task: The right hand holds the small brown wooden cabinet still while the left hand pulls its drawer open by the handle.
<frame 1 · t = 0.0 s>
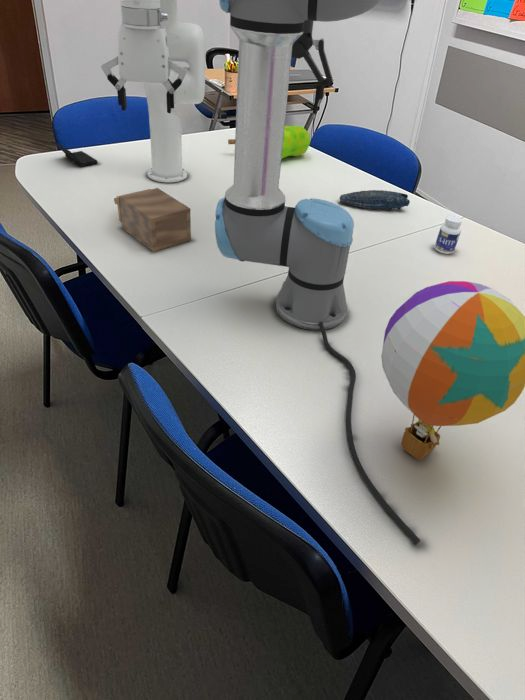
left hand: (146, 110, 113), 31 cm above the table, tool pointing down, fingers open, 9 cm apart
right hand: (288, 109, 135), 28 cm above the table, tool pointing down, fingers open, 13 cm apart
pill bottle: (443, 250, 140), on the table
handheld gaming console: (77, 161, 171), on the table
toy: (415, 451, 84), on the table
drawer: (143, 210, 136), point 4 cm above the table, slide at 1.5 cm
fish model: (372, 206, 160), on the table
decorative tree: (268, 156, 189), on the table
cabinet: (156, 234, 135), on the table
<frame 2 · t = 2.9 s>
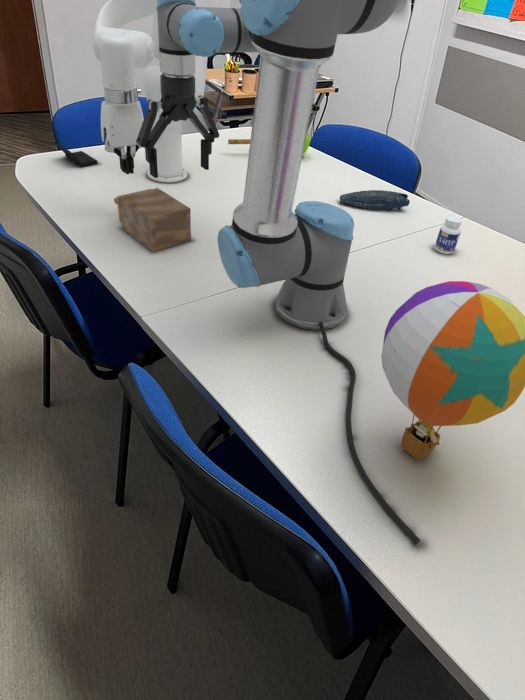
left hand: (127, 172, 134), 12 cm above the table, tool pointing down, fingers closed
right hand: (179, 171, 125), 17 cm above the table, tool pointing down, fingers open, 13 cm apart
nothing on the table moved.
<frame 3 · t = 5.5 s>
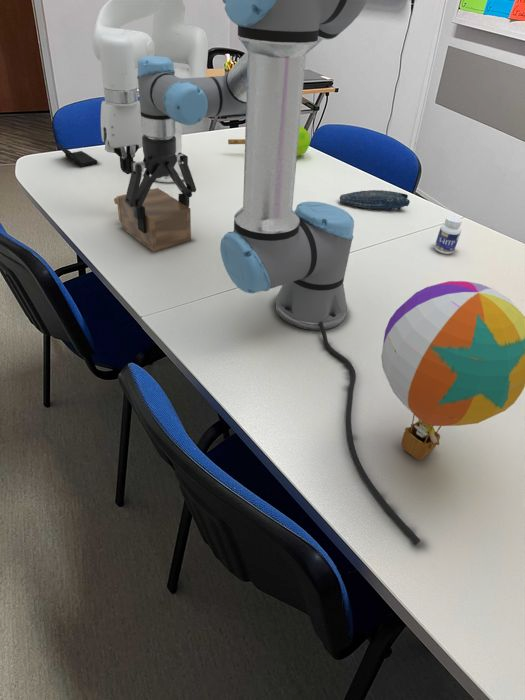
left hand: (127, 172, 134), 12 cm above the table, tool pointing down, fingers closed
right hand: (163, 225, 130), 4 cm above the table, tool pointing down, fingers closed on cabinet, 11 cm apart
cabinet: (156, 234, 135), on the table, touching right hand
everything else where it was.
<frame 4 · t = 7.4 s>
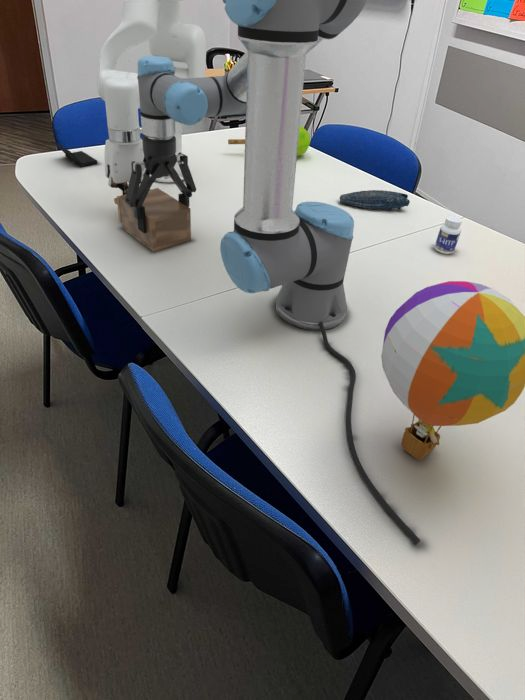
left hand: (130, 205, 140), 3 cm above the table, tool pointing down, fingers closed
right hand: (163, 225, 130), 4 cm above the table, tool pointing down, fingers closed on cabinet, 11 cm apart
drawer: (143, 210, 136), point 4 cm above the table, slide at 1.5 cm, touching left hand
cabinet: (156, 234, 135), on the table, touching right hand
everything else where it was.
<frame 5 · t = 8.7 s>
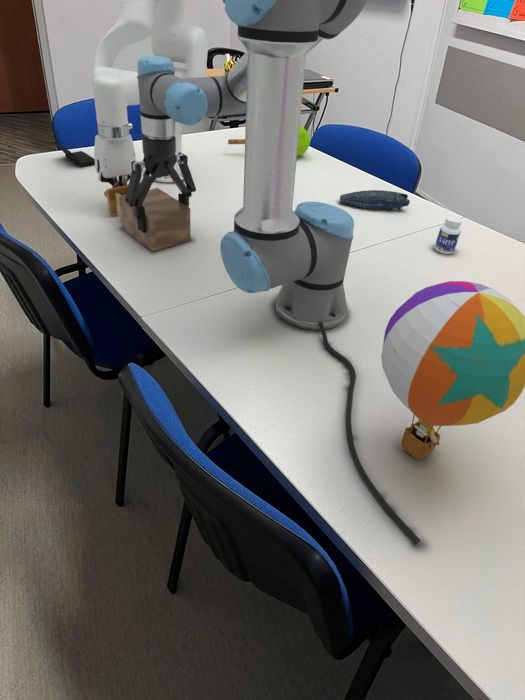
left hand: (119, 199, 143), 3 cm above the table, tool pointing down, fingers closed
right hand: (163, 225, 130), 4 cm above the table, tool pointing down, fingers closed on cabinet, 11 cm apart
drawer: (132, 203, 139), point 4 cm above the table, slide at 6.9 cm, touching left hand
cabinet: (156, 234, 135), on the table, touching right hand
everything else where it was.
when the right hand's fingers open (4 cm above the table, at t = 10.5 s): cabinet stays where it is, on the table.
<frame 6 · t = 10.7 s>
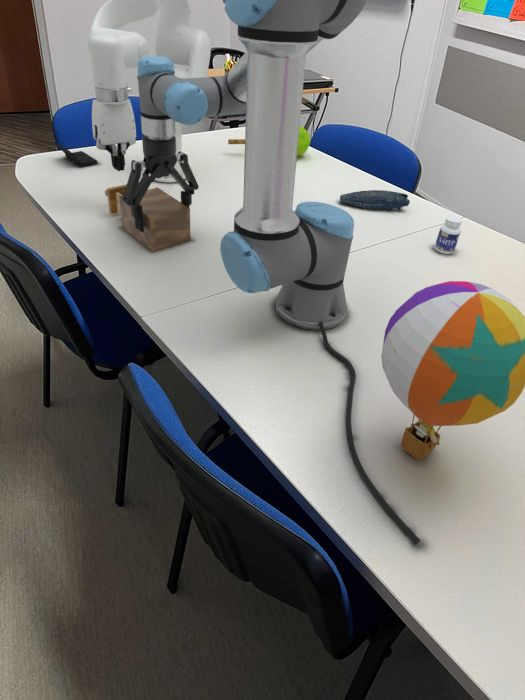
left hand: (118, 169, 137), 12 cm above the table, tool pointing down, fingers closed
right hand: (163, 223, 130), 5 cm above the table, tool pointing down, fingers open, 13 cm apart
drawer: (132, 202, 139), point 4 cm above the table, slide at 6.9 cm
cabinet: (156, 234, 135), on the table
everything else where it was.
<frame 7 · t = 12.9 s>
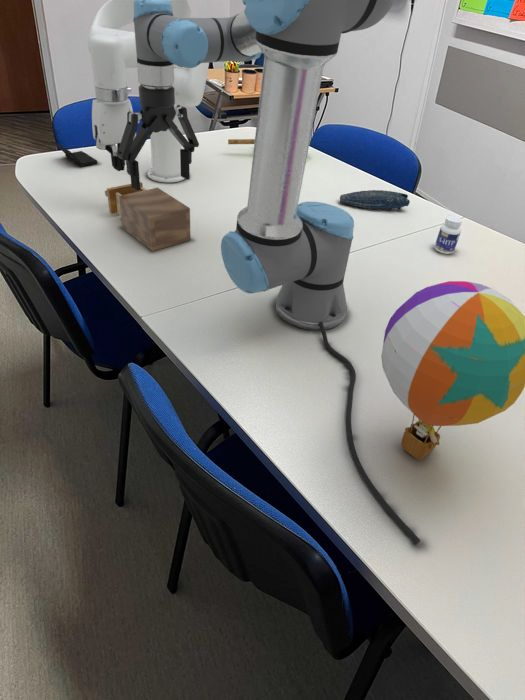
left hand: (118, 169, 137), 12 cm above the table, tool pointing down, fingers closed
right hand: (161, 183, 124), 15 cm above the table, tool pointing down, fingers open, 13 cm apart
nothing on the table moved.
at the end: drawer slide at 6.9 cm; cabinet tilted 0°; cabinet never tilted more than 3° during the clip; cabinet moved 0.3 cm from its start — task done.
